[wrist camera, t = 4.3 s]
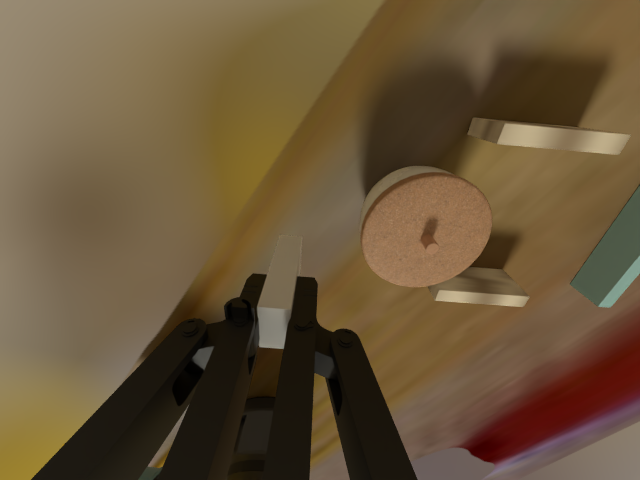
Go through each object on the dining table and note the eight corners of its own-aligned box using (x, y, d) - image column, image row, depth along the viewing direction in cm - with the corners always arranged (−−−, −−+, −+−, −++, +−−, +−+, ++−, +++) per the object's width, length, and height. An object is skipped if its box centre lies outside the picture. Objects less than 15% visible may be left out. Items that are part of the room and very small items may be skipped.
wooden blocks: (420, 273, 33) (434, 300, 29) (472, 117, 24) (504, 123, 20) (497, 278, 34) (523, 306, 29) (577, 127, 25) (631, 134, 20)
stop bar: (569, 284, 34) (597, 306, 30) (674, 135, 25) (731, 143, 21) (581, 285, 34) (610, 307, 30) (689, 137, 25) (748, 145, 21)
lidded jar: (333, 195, 28) (337, 237, 20) (424, 129, 25) (472, 149, 17) (384, 260, 32) (405, 317, 24) (468, 212, 29) (524, 259, 21)
